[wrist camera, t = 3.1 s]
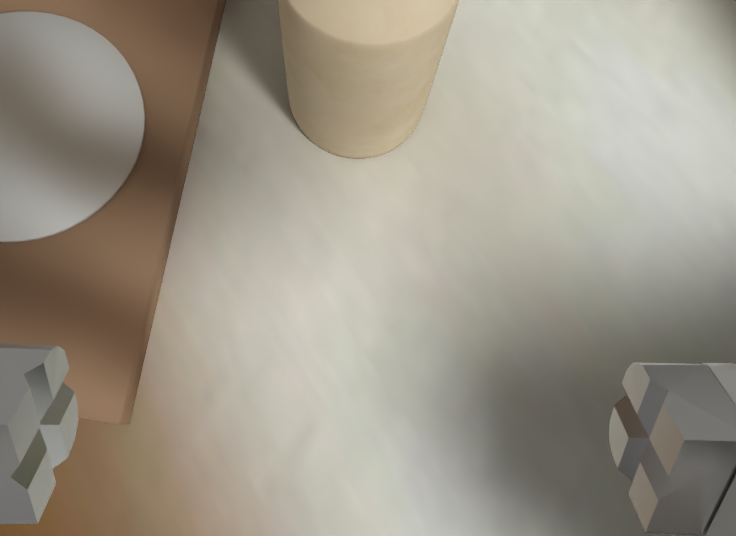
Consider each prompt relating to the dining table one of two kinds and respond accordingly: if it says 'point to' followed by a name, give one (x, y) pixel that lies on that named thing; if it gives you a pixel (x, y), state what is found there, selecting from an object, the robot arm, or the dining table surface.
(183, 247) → the dining table surface
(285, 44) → the candle
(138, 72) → the board
